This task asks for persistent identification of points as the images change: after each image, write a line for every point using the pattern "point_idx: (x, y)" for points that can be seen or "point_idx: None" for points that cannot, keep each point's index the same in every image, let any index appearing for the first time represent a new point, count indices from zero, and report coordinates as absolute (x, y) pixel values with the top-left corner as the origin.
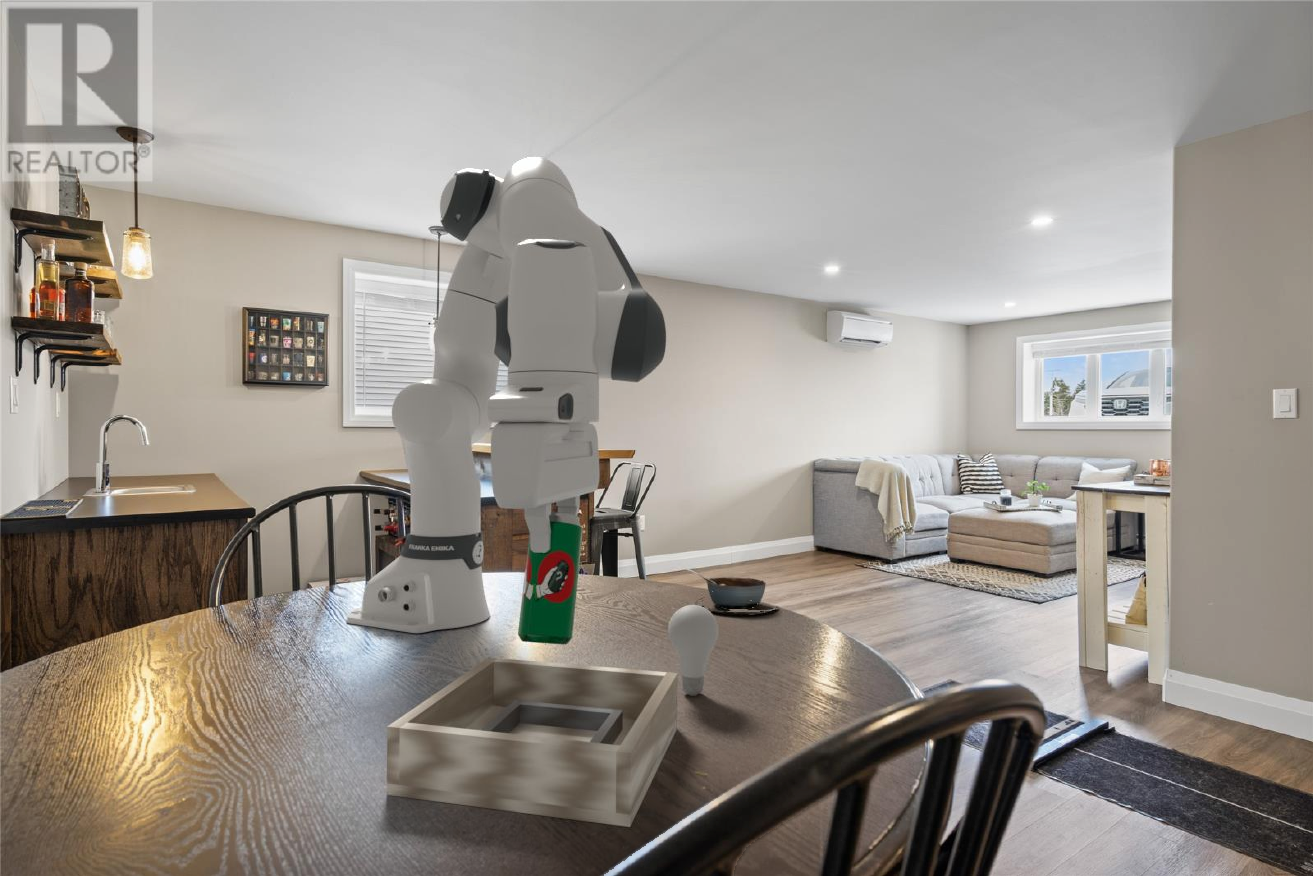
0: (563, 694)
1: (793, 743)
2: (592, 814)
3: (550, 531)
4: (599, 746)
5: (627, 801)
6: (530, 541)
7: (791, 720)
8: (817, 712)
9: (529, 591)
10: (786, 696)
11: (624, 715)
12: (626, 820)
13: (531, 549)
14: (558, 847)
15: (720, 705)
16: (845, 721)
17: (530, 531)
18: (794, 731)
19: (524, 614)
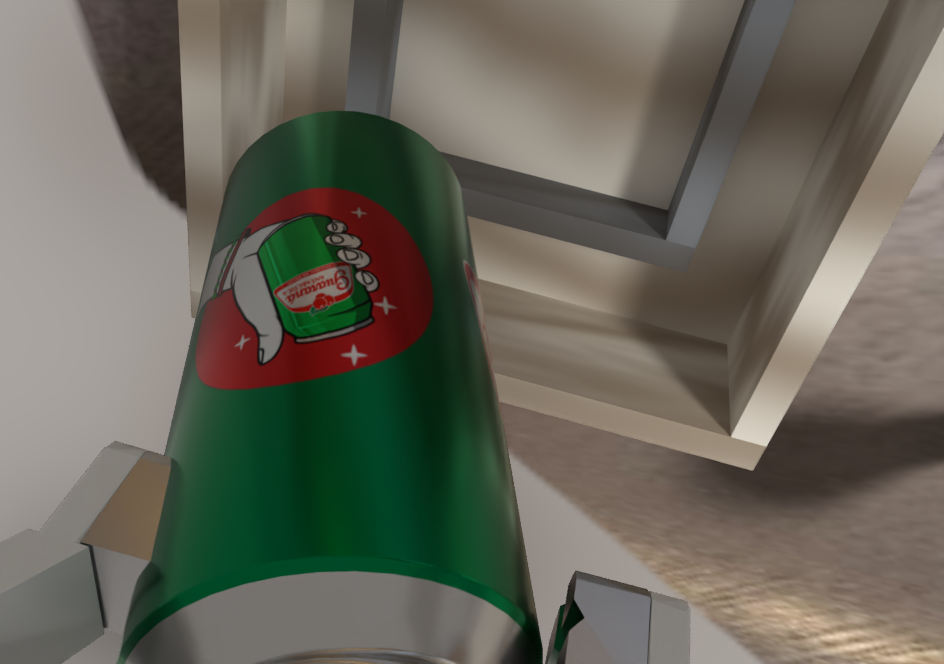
0: (875, 79)
1: (638, 546)
2: None
3: (86, 637)
4: (206, 256)
5: None
6: (81, 481)
7: (764, 575)
8: (804, 626)
9: (211, 277)
10: (927, 608)
11: (773, 254)
12: None
13: (107, 446)
14: (160, 98)
15: (900, 474)
16: (744, 648)
17: (13, 542)
18: (701, 563)
19: (239, 195)
